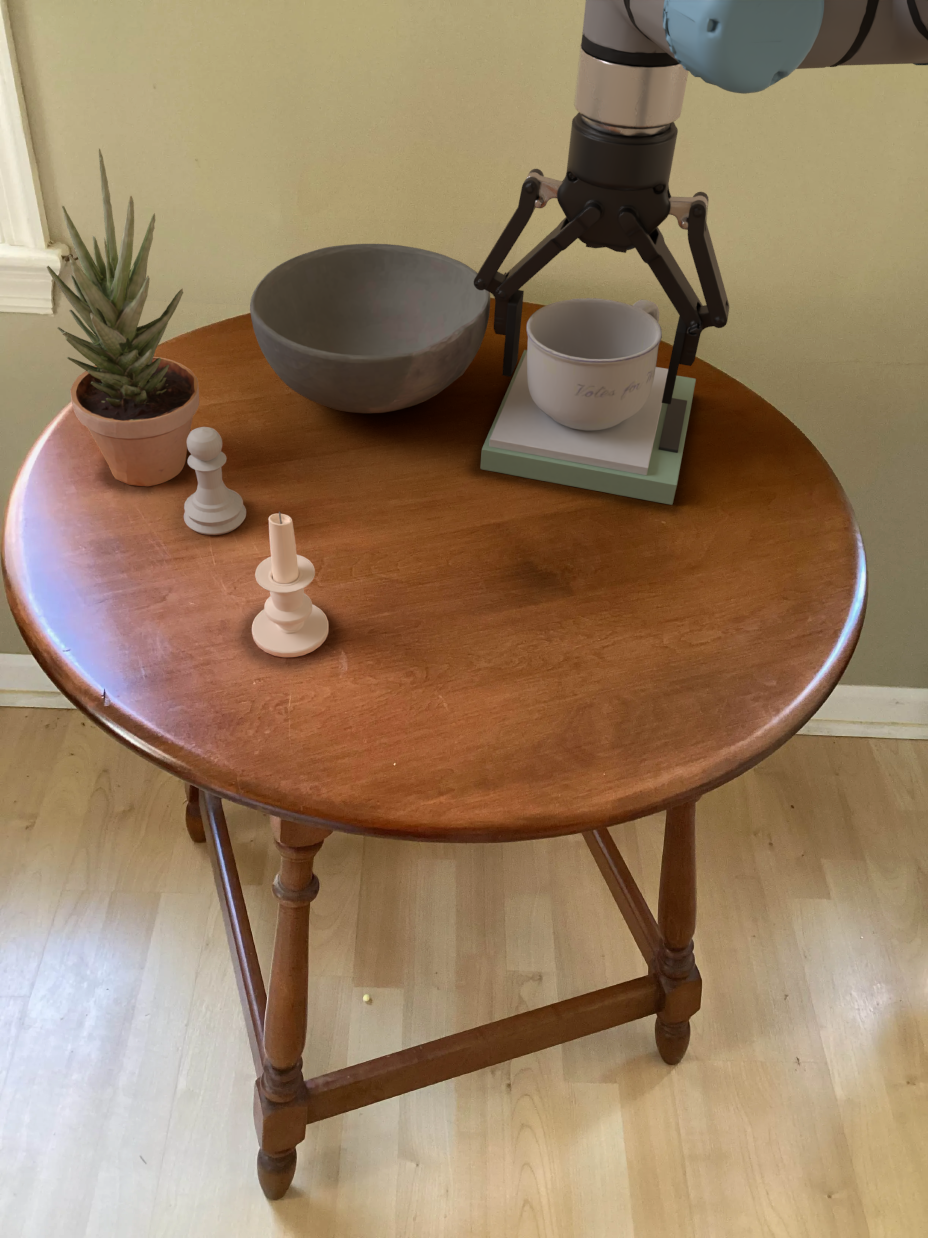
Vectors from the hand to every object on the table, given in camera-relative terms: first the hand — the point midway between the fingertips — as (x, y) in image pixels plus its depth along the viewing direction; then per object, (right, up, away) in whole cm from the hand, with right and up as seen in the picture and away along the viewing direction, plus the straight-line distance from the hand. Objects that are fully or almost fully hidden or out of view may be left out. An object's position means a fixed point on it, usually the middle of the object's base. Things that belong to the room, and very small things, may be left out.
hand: (587, 382), depth 88 cm
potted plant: (-36, -7, -3) cm, 37 cm away
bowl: (-19, 0, +6) cm, 20 cm away
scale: (+1, -4, +3) cm, 5 cm away
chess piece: (-30, -12, -8) cm, 33 cm away
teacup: (+1, -2, +1) cm, 2 cm away
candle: (-22, -21, -16) cm, 35 cm away
